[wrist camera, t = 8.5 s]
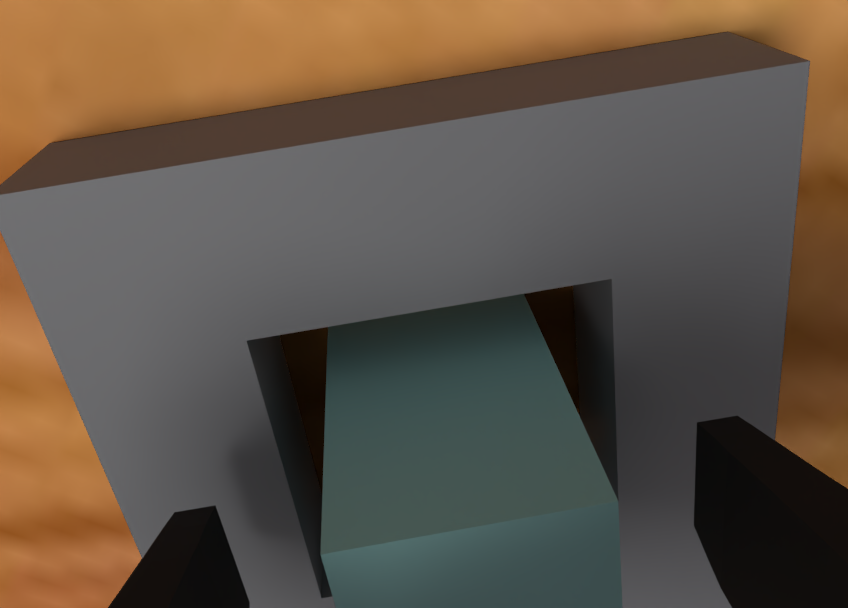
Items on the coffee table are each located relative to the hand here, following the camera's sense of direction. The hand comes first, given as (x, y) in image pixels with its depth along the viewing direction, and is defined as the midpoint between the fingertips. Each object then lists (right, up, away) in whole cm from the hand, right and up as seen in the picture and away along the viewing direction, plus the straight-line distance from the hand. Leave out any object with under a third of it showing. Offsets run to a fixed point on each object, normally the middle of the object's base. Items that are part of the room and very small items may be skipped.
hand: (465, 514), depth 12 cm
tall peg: (0, +2, +3) cm, 4 cm away
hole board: (0, +2, +3) cm, 4 cm away
